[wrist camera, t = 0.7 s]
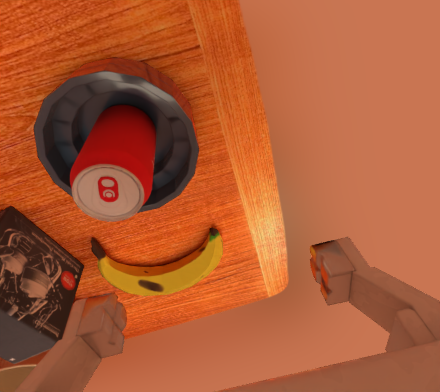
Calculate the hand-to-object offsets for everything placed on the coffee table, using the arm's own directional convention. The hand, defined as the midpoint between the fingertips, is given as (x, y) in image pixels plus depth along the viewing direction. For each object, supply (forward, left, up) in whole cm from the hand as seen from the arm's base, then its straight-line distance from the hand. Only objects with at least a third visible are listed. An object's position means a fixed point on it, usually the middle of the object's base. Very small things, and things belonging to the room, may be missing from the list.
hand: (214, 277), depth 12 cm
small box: (+15, -25, -24) cm, 38 cm away
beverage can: (+2, -7, -23) cm, 25 cm away
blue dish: (+2, -7, -23) cm, 25 cm away
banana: (+20, -9, -24) cm, 32 cm away
